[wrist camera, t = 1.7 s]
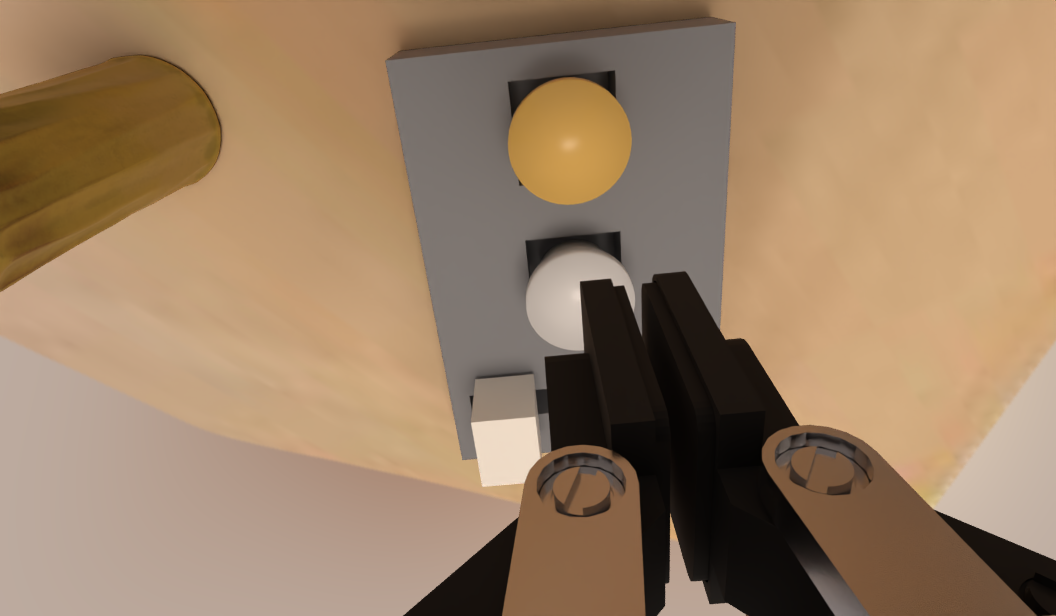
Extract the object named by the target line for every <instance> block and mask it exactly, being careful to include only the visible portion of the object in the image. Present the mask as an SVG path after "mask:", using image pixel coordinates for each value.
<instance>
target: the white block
mask: <svg viewBox="0 0 1056 616" xmlns="http://www.w3.org/2000/svg"><path fill="white" fill-rule="evenodd" d="M471 426H472V431H473V437H474V443H475V448H476V454H477V459H478V465H479V471H480V476H481V482H482V487H486V486H497V485H509V484H520V483H525V480H526V477H527V475H528V472H529V470H530V469H531V468H532V467H533V465H534V464H535V463H536V462H537V461H538V460H539V459H540V458H542V454H541V435H540V426H539V418H538V409H537V400H536V391H535V383H534V374H529V375H518V376H507V377H496V378H486V379H475V387H474V397H473V407H472V417H471Z"/></svg>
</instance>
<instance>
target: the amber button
mask: <svg viewBox="0 0 1056 616" xmlns="http://www.w3.org/2000/svg"><path fill="white" fill-rule="evenodd" d="M631 145H632V136H631V128H630V124H629V121H628V118H627V115H626V114H625V112H624V110H623V108H622V107H621V105H620V104H619V102H618V101H617V100H616V99H615V97H614V96H613V95H612V94H611V93H610V92H609V91H607V90H606V89H605V88H604V87H602V86H600V85H599V84H597V83H595V82H592V81H590V80H587V79H583V78H576V77H564V78H558V79H554V80H551V81H548V82H546V83H544V84H542V85H540V86H538V87H537V88H535V89H534V90H532V91H531V92H530V93H529V94H528V95H527V96H526V97H525V98H524V99H523V100H522V101H521V103H520V104H519V106H518V107H517V109H516V111H515V113H514V115H513V117H512V120H511V123H510V128H509V135H508V153H509V158H510V162H511V165H512V168H513V170H514V172H515V174H516V176H517V177H518V179H519V180H520V182H521V183H522V184H523V185H524V186H525V187H526V188H527V189H528V190H529V191H530V192H531V193H533V194H534V195H536V196H537V197H539V198H541V199H543V200H545V201H548V202H551V203H556V204H563V205H574V204H580V203H584V202H587V201H590V200H593V199H595V198H597V197H599V196H600V195H602V194H604V193H605V192H606V191H608V190H609V189H610V188H611V187H612V186H613V185H614V184H615V183H616V182H617V180H618V179H619V178H620V177H621V175H622V173H623V172H624V170H625V168H626V165H627V163H628V160H629V157H630V152H631Z"/></svg>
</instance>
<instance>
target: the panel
mask: <svg viewBox="0 0 1056 616" xmlns="http://www.w3.org/2000/svg"><path fill="white" fill-rule="evenodd" d="M735 29H736V22H731V21H727V20H723V19H718V18H714V17H706V18H697V19H688V20H679V21H669V22H660V23H651V24H642V25H633V26H624V27H614V28H605V29H596V30H587V31H578V32H569V33H559V34H550V35H541V36H532V37H523V38H514V39H505V40H495V41H486V42H477V43H468V44H459V45H450V46H440V47H431V48H422V49H413V50H404V51H399V52H397V53H396V54H394V55H393V56H391V57H390V58H388V59H387V60H386V61H385V62H386V67H387V72H388V77H389V82H390V88H391V93H392V98H393V103H394V108H395V113H396V119H397V124H398V129H399V134H400V139H401V144H402V150H403V155H404V160H405V165H406V170H407V175H408V181H409V186H410V191H411V196H412V201H413V207H414V212H415V217H416V222H417V227H418V232H419V238H420V243H421V248H422V253H423V258H424V263H425V269H426V274H427V279H428V284H429V289H430V295H431V300H432V305H433V310H434V315H435V320H436V326H437V331H438V336H439V341H440V346H441V351H442V357H443V362H444V367H445V372H446V377H447V382H448V388H449V393H450V398H451V403H452V408H453V414H454V419H455V424H456V429H457V434H458V439H459V445H460V450H461V455H462V460H468V459H477V454H476V448H475V443H474V437H473V431H472V426H471V417H472V407H473V397H474V387H475V379H486V378H496V377H507V376H518V375H529V374H534V383H535V391H536V400H537V409H538V418H539V426H540V435H541V453H548V452H551V440H550V427H549V413H548V400H547V386H546V373H545V359H544V357H546V356H557V355H567V354H578V353H584V350H581V351H575V350H567V349H562V348H559V347H556V346H554V345H552V344H550V343H548V342H547V341H545V340H544V339H543V338H541V337H540V336H539V335H538V334H537V333H536V331H535V330H534V328H533V327H532V325H531V323H530V321H529V318H528V316H527V310H526V289H527V285H528V282H529V279H530V277H531V275H532V273H533V272H534V270H535V269H536V268H537V266H538V265H539V264H540V262H541V260H542V258H543V256H544V255H545V254H546V253H547V252H548V251H549V250H550V249H551V248H552V247H554V246H555V245H557V244H559V243H561V242H564V241H568V240H584V241H588V242H591V243H593V244H595V245H597V246H598V247H600V248H601V249H602V250H603V251H605V252H606V253H608V254H610V255H612V256H613V257H615V258H616V259H617V260H618V261H619V262H620V263H621V264H622V265H623V266H624V268H625V269H626V271H627V273H628V275H629V277H630V280H631V283H632V285H633V289H634V293H635V307H634V315H635V318H636V321H637V324H638V327H639V330H640V333H641V335H642V305H641V288H642V283H652V277H653V275H654V274H661V273H672V272H682V271H686V272H687V273H688V275H689V277H690V279H691V280H692V282H693V284H694V286H695V287H696V289H697V291H698V293H699V294H700V296H701V298H702V300H703V301H704V303H705V305H706V307H707V308H708V310H709V312H710V314H711V316H712V317H713V319H714V321H715V323H716V324H717V326H718V328H719V330H720V319H721V300H722V281H723V261H724V242H725V222H726V203H727V184H728V164H729V145H730V126H731V106H732V87H733V68H734V48H735ZM564 77H576V78H583V79H587V80H590V81H592V82H595V83H597V84H599V85H600V86H602V87H604V88H605V89H606V90H607V91H609V92H610V93H611V94H612V95H613V96H614V97H615V99H616V100H617V101H618V102H619V104H620V105H621V107H622V108H623V110H624V112H625V114H626V115H627V118H628V121H629V124H630V128H631V136H632V145H631V152H630V157H629V160H628V163H627V165H626V168H625V170H624V172H623V173H622V175H621V177H620V178H619V179H618V180H617V182H616V183H615V184H614V185H613V186H612V187H611V188H610V189H609V190H608V191H606V192H605V193H604V194H602V195H600V196H599V197H597V198H595V199H593V200H590V201H587V202H584V203H580V204H574V205H563V204H556V203H551V202H548V201H545V200H543V199H541V198H539V197H537V196H536V195H534V194H533V193H531V192H530V191H529V190H528V189H527V188H526V187H525V186H524V185H523V184H522V183H521V182H520V180H519V179H518V177H517V176H516V174H515V172H514V170H513V168H512V165H511V162H510V158H509V153H508V135H509V128H510V123H511V120H512V117H513V115H514V113H515V111H516V109H517V107H518V106H519V104H520V103H521V101H522V100H523V99H524V98H525V97H526V96H527V95H528V94H529V93H530V92H531V91H532V90H534V89H535V88H537V87H538V86H540V85H542V84H544V83H546V82H548V81H551V80H554V79H558V78H564Z"/></svg>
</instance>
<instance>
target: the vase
mask: <svg viewBox="0 0 1056 616" xmlns="http://www.w3.org/2000/svg"><path fill="white" fill-rule="evenodd" d="M220 143H221V133H220V126H219V122H218V119H217V116H216V113H215V111H214V109H213V107H212V105H211V103H210V101H209V99H208V98H207V96H206V94H205V93H204V91H203V90H202V89H201V88H200V87H199V86H198V85H197V84H196V83H195V82H194V81H193V80H192V79H191V78H190V77H189V76H188V75H187V74H185V73H184V72H183V71H181V70H180V69H178V68H176V67H175V66H173V65H171V64H169V63H167V62H165V61H162V60H159V59H156V58H153V57H149V56H144V55H133V56H124V57H117V58H111V59H109V60H108V61H106V62H104V63H101V64H99V65H95V66H92V67H88V68H85V69H81V70H78V71H75V72H72V73H69V74H65V75H62V76H59V77H56V78H52V79H49V80H46V81H43V82H40V83H36V84H33V85H29V86H26V87H23V88H19V89H16V90H13V91H9V92H6V93H3V94H0V292H1V291H3V290H5V289H6V288H8V287H9V286H11V285H13V284H14V283H16V282H17V281H19V280H21V279H22V278H24V277H25V276H27V275H29V274H30V273H32V272H33V271H35V270H37V269H38V268H40V267H41V266H43V265H45V264H46V263H48V262H50V261H52V260H53V259H55V258H57V257H58V256H60V255H62V254H64V253H65V252H67V251H68V250H70V249H72V248H74V247H75V246H77V245H79V244H80V243H82V242H84V241H86V240H87V239H89V238H91V237H93V236H94V235H96V234H98V233H100V232H102V231H103V230H105V229H107V228H109V227H111V226H113V225H114V224H116V223H118V222H119V221H121V220H123V219H125V218H126V217H128V216H129V215H131V214H133V213H135V212H137V211H139V210H141V209H143V208H145V207H147V206H149V205H152V204H154V203H155V202H157V201H159V200H161V199H162V198H164V197H166V196H168V195H170V194H172V193H173V192H175V191H177V190H179V189H181V188H183V187H185V186H188V185H191V184H194V183H196V182H198V181H199V180H201V179H202V178H203V177H204V176H205V175H207V173H208V172H209V171H210V170H211V169H212V167H213V166H214V164H215V162H216V160H217V157H218V154H219V150H220Z"/></svg>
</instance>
